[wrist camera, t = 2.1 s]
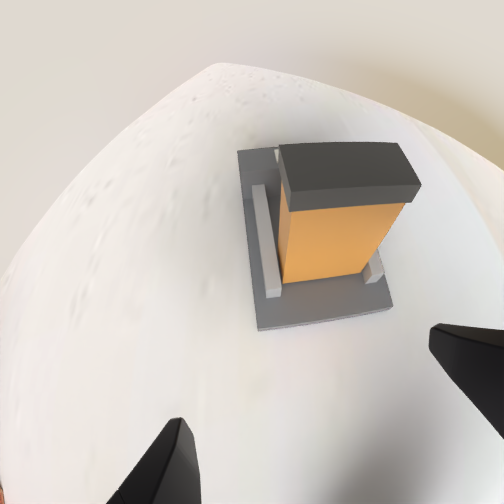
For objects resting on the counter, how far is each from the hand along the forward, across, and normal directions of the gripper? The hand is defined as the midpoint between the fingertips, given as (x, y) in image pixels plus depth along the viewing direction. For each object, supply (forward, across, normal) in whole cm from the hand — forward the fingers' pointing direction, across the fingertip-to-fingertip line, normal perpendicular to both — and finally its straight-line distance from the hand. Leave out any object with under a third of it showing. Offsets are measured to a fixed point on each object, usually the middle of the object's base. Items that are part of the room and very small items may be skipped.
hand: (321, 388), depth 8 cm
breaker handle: (+16, -6, +1) cm, 17 cm away
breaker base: (+19, -6, 0) cm, 20 cm away
